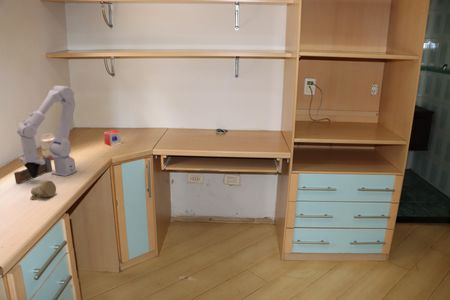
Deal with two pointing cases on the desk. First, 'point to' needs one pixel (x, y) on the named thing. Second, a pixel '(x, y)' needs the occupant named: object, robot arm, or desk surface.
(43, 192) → the grey rounded lump
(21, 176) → the brown flat bar
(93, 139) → the desk surface
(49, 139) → the ink cartridge box
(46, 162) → the gate post
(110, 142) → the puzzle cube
